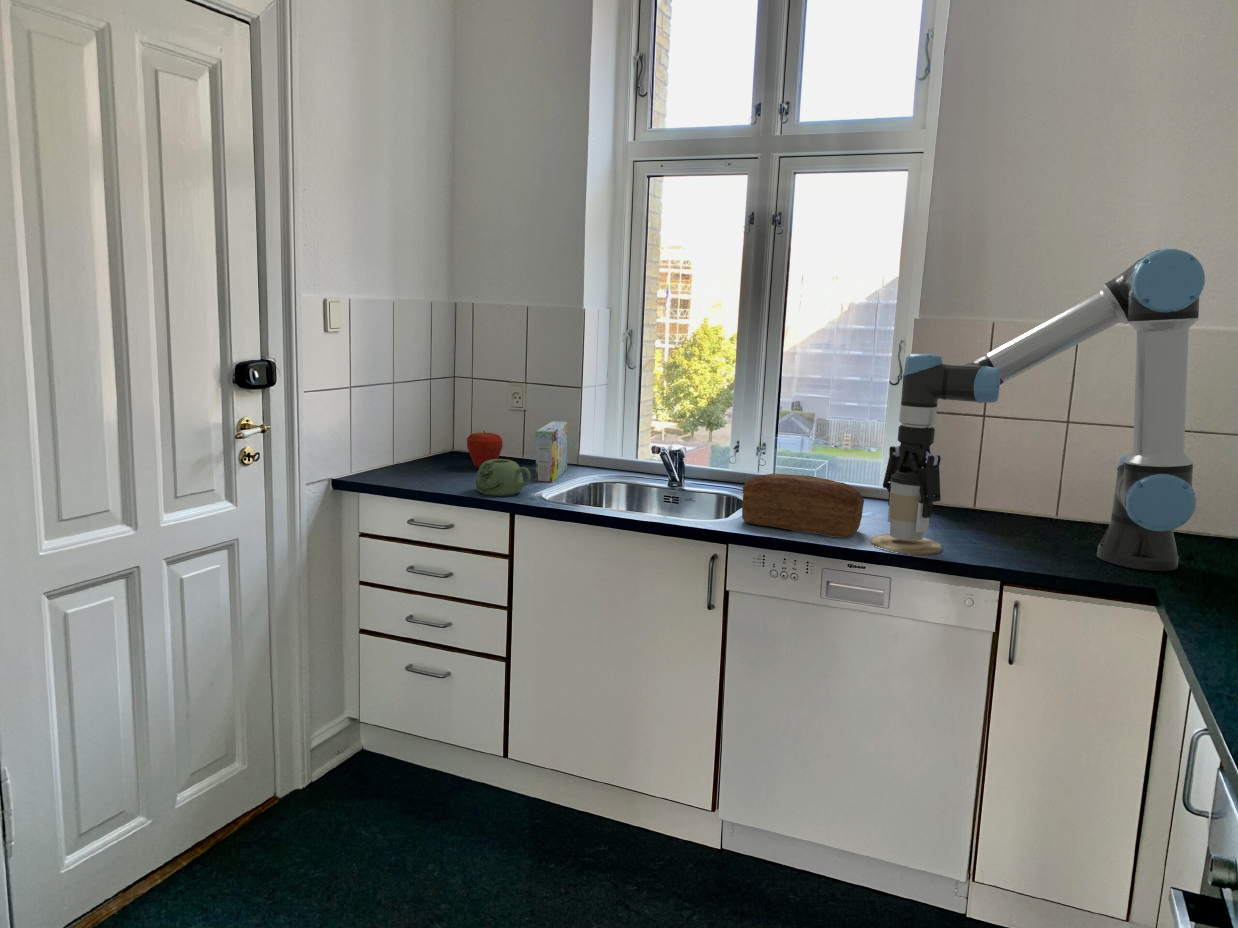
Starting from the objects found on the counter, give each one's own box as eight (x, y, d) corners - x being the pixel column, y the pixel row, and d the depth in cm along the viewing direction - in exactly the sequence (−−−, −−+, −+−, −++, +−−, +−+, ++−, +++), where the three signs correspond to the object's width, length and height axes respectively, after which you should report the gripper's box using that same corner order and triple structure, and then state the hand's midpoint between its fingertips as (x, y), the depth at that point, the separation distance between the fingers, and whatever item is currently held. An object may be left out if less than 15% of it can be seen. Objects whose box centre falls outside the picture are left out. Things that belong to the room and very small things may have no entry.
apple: (485, 473, 262) (485, 433, 260) (458, 469, 268) (458, 429, 266) (509, 468, 271) (510, 430, 269) (483, 464, 277) (483, 426, 275)
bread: (753, 514, 223) (756, 466, 221) (865, 531, 210) (870, 480, 207) (733, 525, 211) (736, 474, 209) (851, 543, 198) (855, 490, 195)
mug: (465, 493, 234) (465, 461, 233) (492, 485, 246) (493, 455, 244) (517, 501, 228) (517, 468, 226) (542, 492, 239) (543, 461, 238)
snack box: (550, 468, 274) (551, 420, 271) (567, 470, 273) (568, 421, 271) (534, 481, 253) (535, 429, 251) (553, 483, 253) (554, 430, 250)
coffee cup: (930, 543, 191) (937, 475, 188) (886, 540, 193) (893, 472, 190) (924, 533, 200) (931, 468, 197) (883, 530, 201) (889, 465, 199)
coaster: (956, 552, 192) (956, 548, 192) (900, 557, 187) (901, 553, 187) (909, 535, 206) (909, 531, 206) (856, 539, 200) (857, 535, 200)
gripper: (966, 431, 183) (955, 537, 187) (898, 418, 203) (889, 514, 207) (938, 432, 181) (927, 539, 185) (871, 419, 200) (863, 516, 204)
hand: (907, 526), depth 196 cm, fingers closed on coffee cup, 8 cm apart
